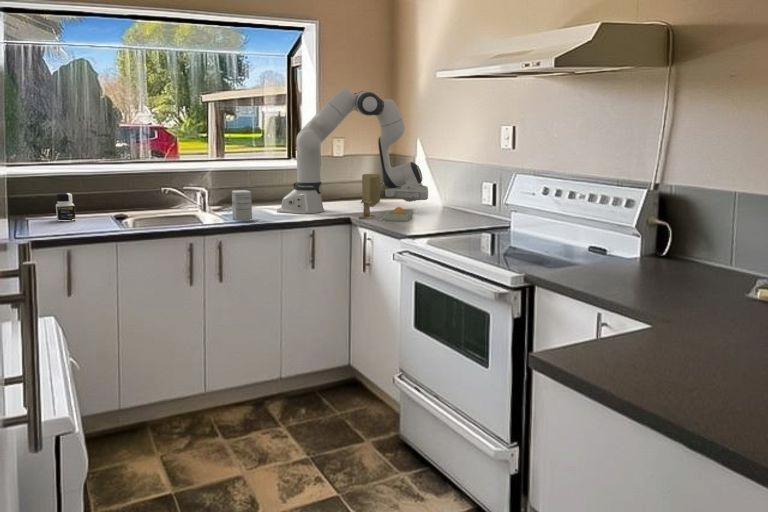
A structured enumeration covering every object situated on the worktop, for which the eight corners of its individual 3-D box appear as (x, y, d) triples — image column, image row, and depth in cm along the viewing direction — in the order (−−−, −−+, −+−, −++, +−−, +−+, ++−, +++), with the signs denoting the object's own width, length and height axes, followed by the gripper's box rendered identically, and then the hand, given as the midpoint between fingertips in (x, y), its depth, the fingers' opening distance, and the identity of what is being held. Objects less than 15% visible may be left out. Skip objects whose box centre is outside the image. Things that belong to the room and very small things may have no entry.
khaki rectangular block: (380, 207, 373) (381, 177, 371) (361, 207, 373) (361, 177, 370) (380, 201, 395) (380, 173, 392) (362, 201, 395) (362, 173, 392)
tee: (358, 218, 334) (358, 199, 332) (362, 216, 339) (361, 198, 338) (371, 219, 332) (371, 200, 331) (374, 217, 338) (374, 198, 336)
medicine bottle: (58, 222, 320) (55, 194, 317) (56, 220, 326) (54, 192, 324) (76, 221, 323) (73, 193, 321) (74, 219, 329) (72, 192, 327)
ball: (391, 218, 330) (392, 207, 329) (394, 217, 335) (394, 206, 334) (402, 219, 329) (403, 208, 328) (405, 217, 334) (405, 206, 333)
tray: (384, 220, 328) (384, 213, 328) (390, 217, 338) (390, 210, 337) (407, 221, 326) (407, 214, 325) (412, 218, 336) (412, 211, 335)
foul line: (377, 220, 328) (377, 220, 328) (384, 216, 340) (384, 216, 340) (379, 220, 327) (379, 220, 327) (386, 216, 340) (386, 216, 340)
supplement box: (232, 218, 332) (231, 190, 330) (248, 217, 335) (247, 189, 332) (235, 221, 325) (234, 192, 323) (252, 220, 328) (251, 191, 326)
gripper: (388, 184, 357) (381, 187, 344) (430, 186, 352) (425, 189, 339) (388, 197, 358) (381, 201, 345) (430, 199, 353) (424, 203, 340)
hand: (403, 195), depth 342 cm, fingers open, 8 cm apart
